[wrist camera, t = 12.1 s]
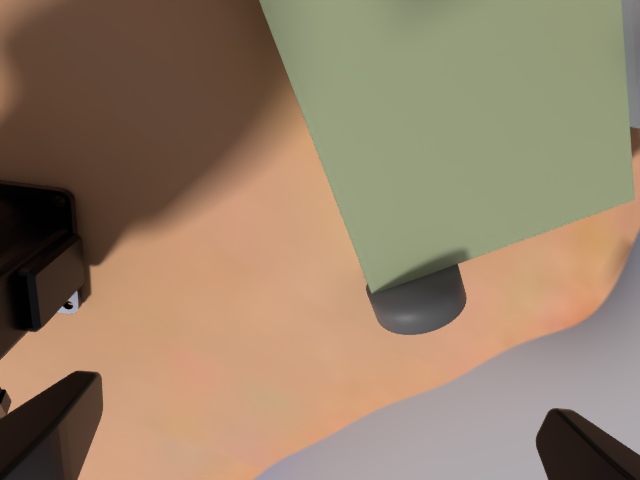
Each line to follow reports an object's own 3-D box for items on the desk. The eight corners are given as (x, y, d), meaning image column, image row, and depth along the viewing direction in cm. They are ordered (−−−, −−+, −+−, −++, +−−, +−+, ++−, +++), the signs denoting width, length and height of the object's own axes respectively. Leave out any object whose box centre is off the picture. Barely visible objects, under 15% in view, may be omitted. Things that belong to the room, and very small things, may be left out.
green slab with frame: (369, 295, 22) (386, 347, 18) (204, -129, 15) (173, -200, 11) (782, 146, 21) (903, 167, 17) (830, -423, 13) (1071, -639, 9)
